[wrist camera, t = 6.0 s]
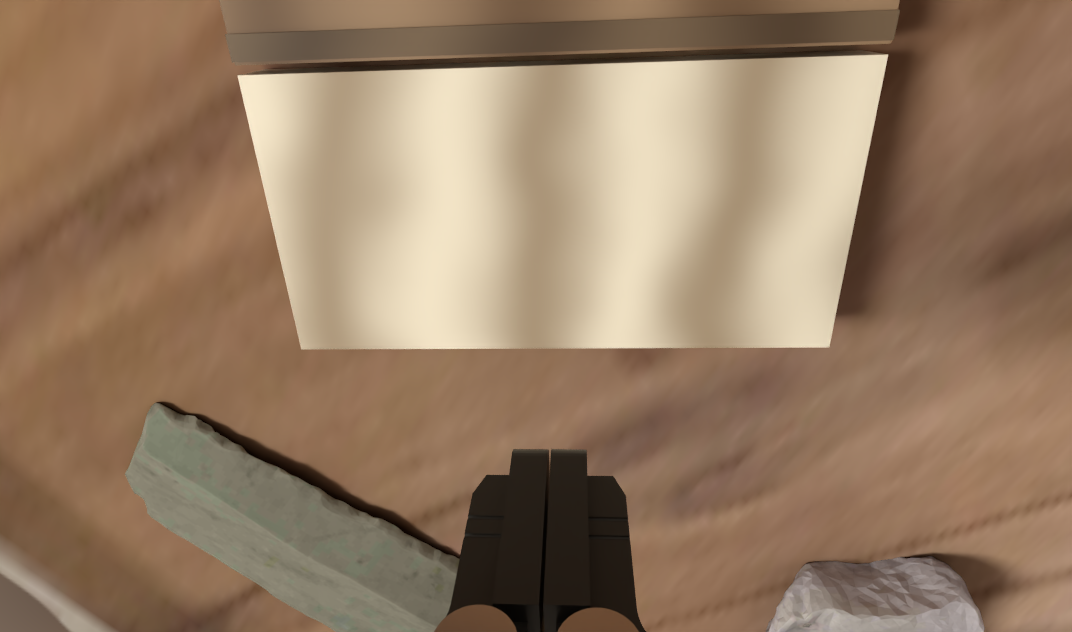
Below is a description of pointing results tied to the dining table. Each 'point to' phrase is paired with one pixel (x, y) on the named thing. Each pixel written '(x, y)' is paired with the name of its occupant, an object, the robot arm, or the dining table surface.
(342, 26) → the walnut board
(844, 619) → the stone block
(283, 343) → the dining table surface
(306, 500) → the stone slab
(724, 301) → the ash plank
